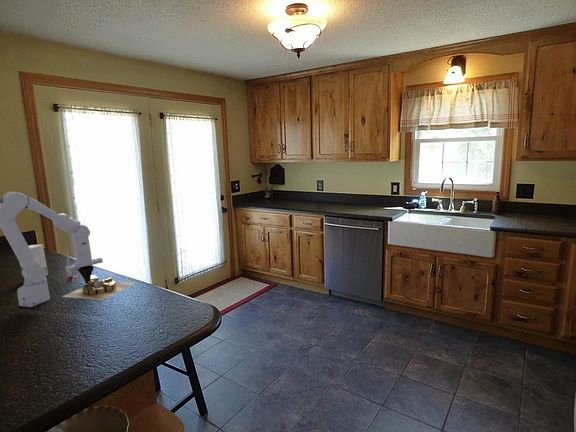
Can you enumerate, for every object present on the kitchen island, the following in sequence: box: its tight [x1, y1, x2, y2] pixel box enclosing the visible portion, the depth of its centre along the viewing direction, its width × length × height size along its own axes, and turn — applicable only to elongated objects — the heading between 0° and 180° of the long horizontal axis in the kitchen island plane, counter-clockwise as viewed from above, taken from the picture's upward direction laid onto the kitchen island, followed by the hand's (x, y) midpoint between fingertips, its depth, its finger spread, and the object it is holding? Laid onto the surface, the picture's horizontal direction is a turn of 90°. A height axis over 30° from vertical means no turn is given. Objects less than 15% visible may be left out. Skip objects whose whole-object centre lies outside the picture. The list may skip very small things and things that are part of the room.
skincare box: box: [23, 244, 49, 281], centre depth 170 cm, size 8×7×16 cm
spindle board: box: [62, 279, 135, 301], centre depth 148 cm, size 18×20×5 cm
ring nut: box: [81, 274, 116, 295], centre depth 149 cm, size 12×16×4 cm
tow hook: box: [64, 253, 79, 282], centre depth 166 cm, size 8×13×9 cm
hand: (87, 283), depth 152 cm, fingers closed
